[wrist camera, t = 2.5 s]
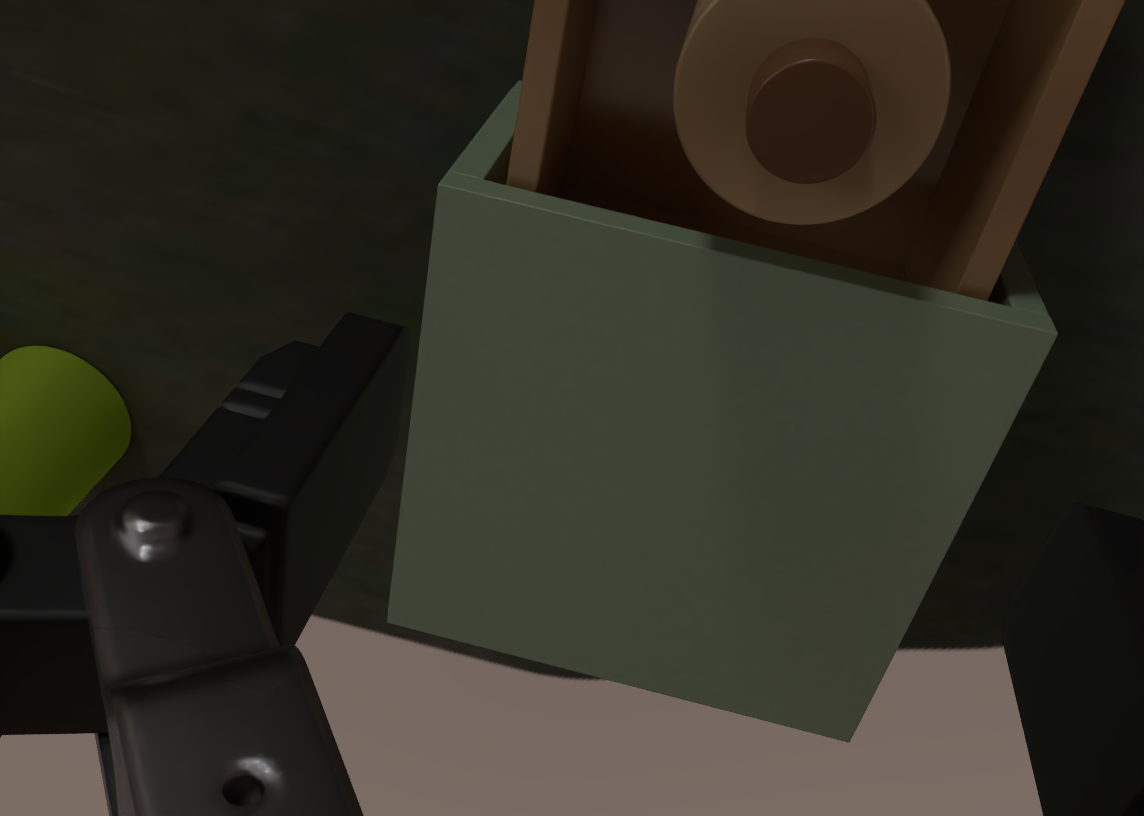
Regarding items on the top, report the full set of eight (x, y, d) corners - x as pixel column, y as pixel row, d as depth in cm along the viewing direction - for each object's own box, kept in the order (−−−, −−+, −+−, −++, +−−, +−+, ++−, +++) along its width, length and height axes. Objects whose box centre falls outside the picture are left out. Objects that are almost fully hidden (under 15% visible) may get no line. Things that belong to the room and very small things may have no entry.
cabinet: (518, 78, 32) (437, 183, 25) (994, 191, 32) (1059, 333, 24) (459, 458, 41) (386, 622, 33) (837, 554, 40) (849, 743, 33)
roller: (684, -81, 27) (629, 21, 18) (882, -147, 26) (939, -75, 16) (730, 106, 30) (705, 284, 20) (915, 55, 28) (982, 222, 19)
